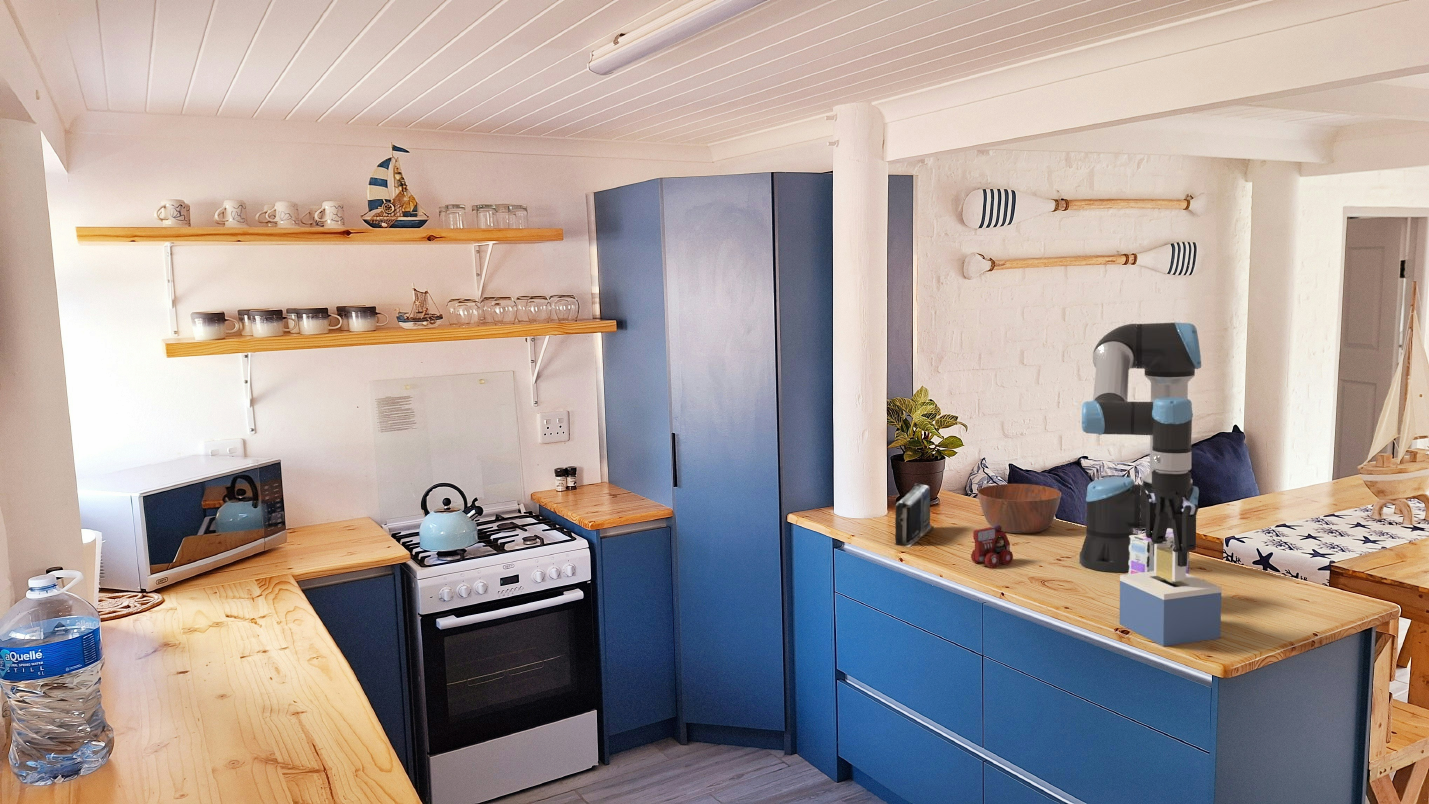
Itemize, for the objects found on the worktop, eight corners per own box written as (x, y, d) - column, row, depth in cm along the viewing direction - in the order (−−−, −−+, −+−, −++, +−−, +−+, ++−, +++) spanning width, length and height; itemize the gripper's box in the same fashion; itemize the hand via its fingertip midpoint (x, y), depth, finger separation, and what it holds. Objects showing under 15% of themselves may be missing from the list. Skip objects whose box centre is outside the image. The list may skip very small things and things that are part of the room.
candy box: (1147, 609, 216) (1148, 540, 214) (1126, 602, 221) (1127, 534, 220) (1189, 599, 222) (1190, 532, 220) (1168, 592, 227) (1169, 526, 225)
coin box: (1119, 623, 208) (1119, 575, 206) (1173, 616, 211) (1174, 568, 210) (1163, 646, 194) (1164, 594, 193) (1220, 638, 197) (1221, 586, 196)
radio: (908, 548, 275) (907, 498, 273) (881, 544, 280) (880, 496, 278) (940, 530, 293) (939, 484, 292) (914, 527, 298) (913, 481, 297)
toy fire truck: (1018, 562, 256) (1018, 525, 255) (984, 570, 251) (984, 532, 250) (999, 556, 263) (999, 520, 261) (966, 564, 257) (966, 527, 256)
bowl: (1069, 522, 296) (1069, 487, 295) (1050, 541, 276) (1050, 503, 274) (990, 515, 310) (990, 481, 309) (967, 533, 289) (966, 496, 288)
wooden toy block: (1156, 575, 203) (1156, 548, 203) (1165, 574, 204) (1166, 547, 203) (1172, 581, 198) (1172, 554, 198) (1181, 580, 199) (1182, 553, 198)
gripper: (1128, 464, 206) (1126, 566, 209) (1186, 479, 189) (1184, 590, 192) (1157, 461, 208) (1155, 563, 211) (1218, 476, 191) (1215, 586, 193)
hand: (1169, 576), depth 201 cm, fingers closed on wooden toy block, 5 cm apart
